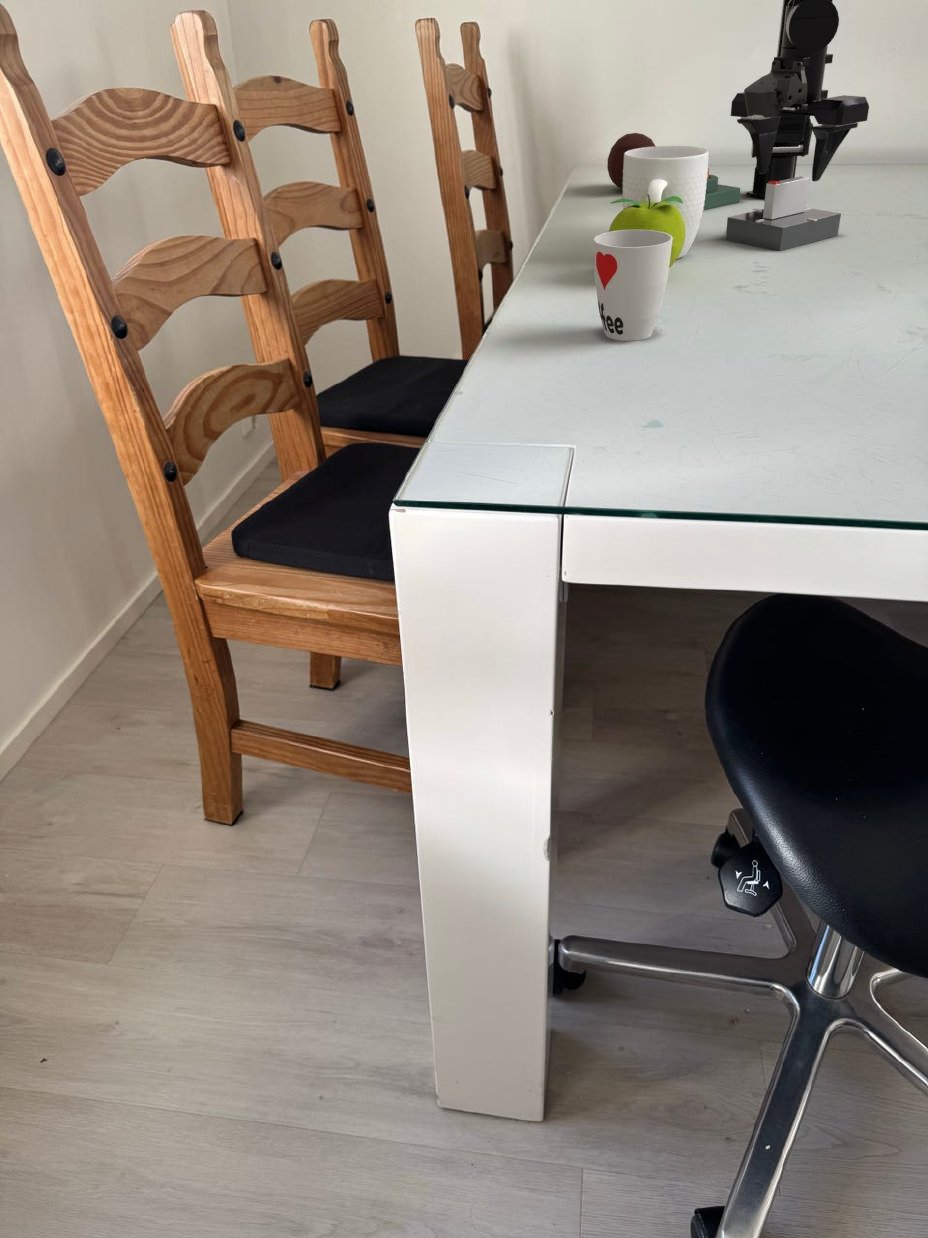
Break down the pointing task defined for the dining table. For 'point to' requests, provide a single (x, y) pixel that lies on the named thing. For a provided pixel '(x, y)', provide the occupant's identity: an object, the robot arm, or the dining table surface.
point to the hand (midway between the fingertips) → (788, 176)
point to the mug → (669, 181)
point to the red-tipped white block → (785, 197)
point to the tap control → (719, 194)
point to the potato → (618, 152)
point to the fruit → (653, 221)
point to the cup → (631, 280)
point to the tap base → (783, 228)
